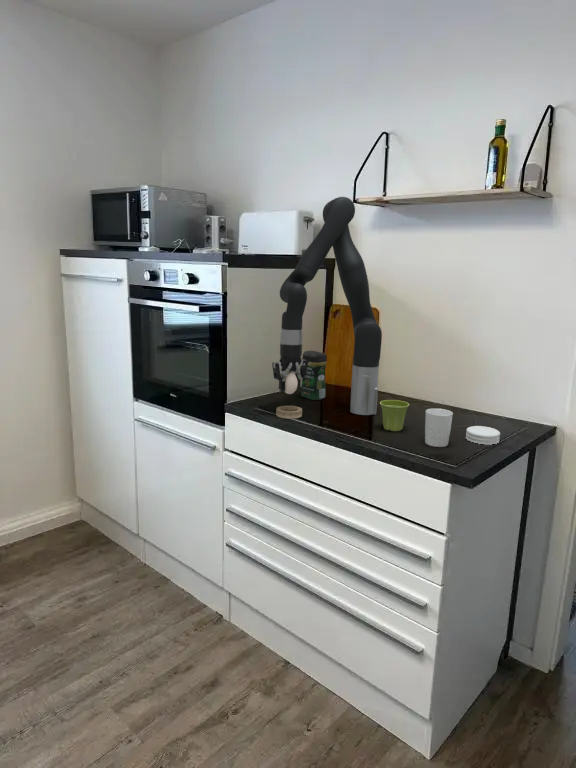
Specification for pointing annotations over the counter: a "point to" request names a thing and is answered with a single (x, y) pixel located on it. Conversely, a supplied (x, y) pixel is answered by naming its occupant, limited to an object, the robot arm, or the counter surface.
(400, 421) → the plant pot
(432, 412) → the white cup
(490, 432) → the white jar lid
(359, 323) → the robot arm
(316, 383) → the coffee jar
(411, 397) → the counter surface
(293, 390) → the egg
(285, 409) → the egg holder
